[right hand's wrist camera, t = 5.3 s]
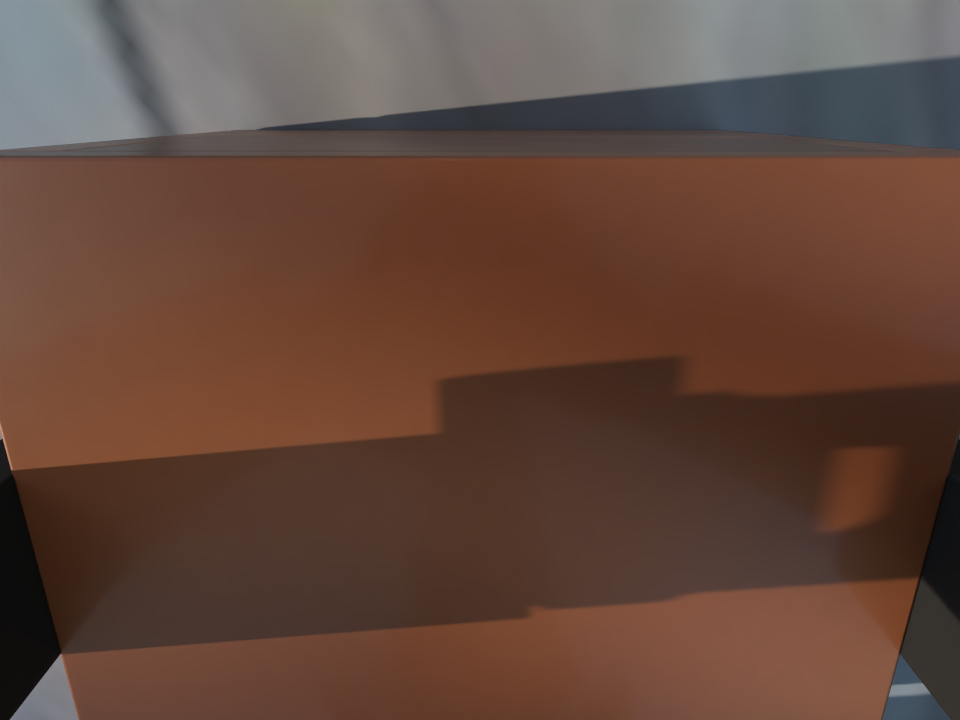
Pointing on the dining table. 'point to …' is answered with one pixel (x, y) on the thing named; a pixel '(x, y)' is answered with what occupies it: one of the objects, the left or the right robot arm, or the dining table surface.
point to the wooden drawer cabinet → (480, 419)
